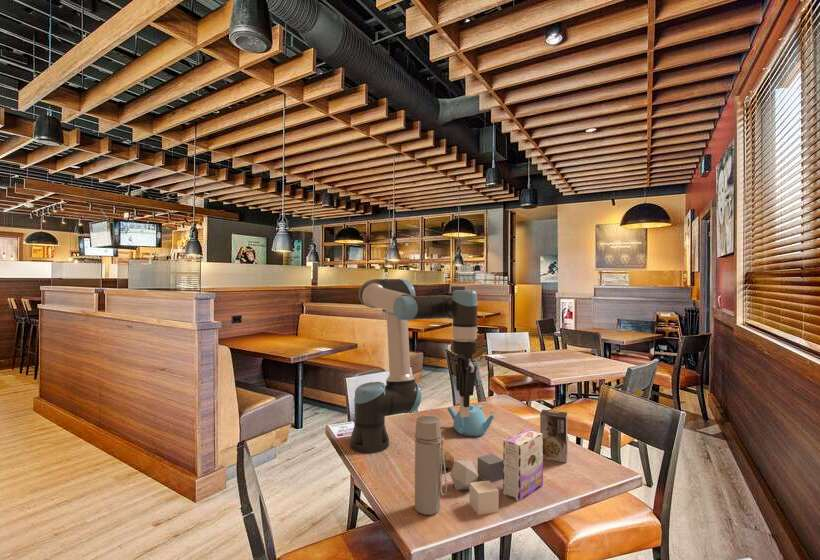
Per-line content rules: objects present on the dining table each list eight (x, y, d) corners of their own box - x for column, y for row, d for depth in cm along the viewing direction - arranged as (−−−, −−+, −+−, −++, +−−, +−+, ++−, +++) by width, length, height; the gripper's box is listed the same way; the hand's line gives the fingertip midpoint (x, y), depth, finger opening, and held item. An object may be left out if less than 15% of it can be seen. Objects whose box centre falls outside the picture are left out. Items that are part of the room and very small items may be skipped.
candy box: (526, 479, 132) (527, 428, 132) (543, 486, 128) (544, 433, 128) (502, 494, 123) (502, 439, 123) (519, 502, 118) (519, 445, 118)
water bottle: (410, 514, 112) (410, 422, 112) (419, 499, 119) (420, 413, 119) (442, 521, 109) (443, 426, 109) (450, 506, 116) (450, 417, 116)
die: (470, 500, 121) (486, 469, 124) (445, 482, 122) (461, 453, 125) (466, 496, 128) (481, 467, 131) (442, 480, 130) (457, 452, 133)
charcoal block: (477, 475, 134) (477, 457, 134) (491, 471, 137) (491, 453, 137) (489, 483, 129) (489, 464, 129) (504, 479, 132) (504, 460, 132)
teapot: (478, 422, 185) (478, 397, 185) (495, 437, 168) (495, 409, 168) (446, 425, 181) (446, 399, 181) (460, 440, 164) (460, 412, 164)
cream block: (469, 503, 117) (469, 482, 117) (488, 501, 119) (488, 480, 119) (478, 515, 112) (478, 493, 112) (498, 512, 113) (498, 490, 113)
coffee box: (567, 456, 150) (568, 412, 150) (566, 463, 144) (566, 417, 144) (541, 451, 153) (542, 408, 153) (539, 458, 148) (539, 413, 148)
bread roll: (430, 485, 135) (436, 467, 132) (417, 460, 144) (422, 443, 141) (455, 478, 140) (461, 461, 137) (441, 455, 148) (446, 438, 145)
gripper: (485, 342, 121) (484, 422, 121) (467, 336, 134) (467, 409, 134) (461, 343, 119) (461, 424, 119) (446, 337, 132) (445, 410, 132)
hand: (464, 416), depth 127 cm, fingers closed
